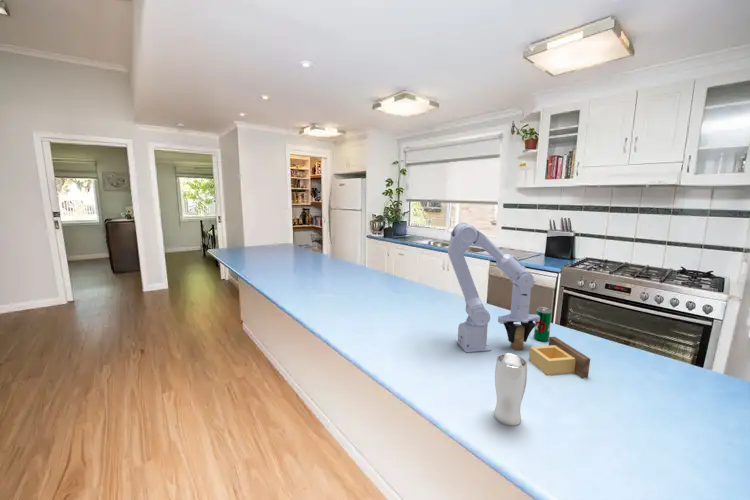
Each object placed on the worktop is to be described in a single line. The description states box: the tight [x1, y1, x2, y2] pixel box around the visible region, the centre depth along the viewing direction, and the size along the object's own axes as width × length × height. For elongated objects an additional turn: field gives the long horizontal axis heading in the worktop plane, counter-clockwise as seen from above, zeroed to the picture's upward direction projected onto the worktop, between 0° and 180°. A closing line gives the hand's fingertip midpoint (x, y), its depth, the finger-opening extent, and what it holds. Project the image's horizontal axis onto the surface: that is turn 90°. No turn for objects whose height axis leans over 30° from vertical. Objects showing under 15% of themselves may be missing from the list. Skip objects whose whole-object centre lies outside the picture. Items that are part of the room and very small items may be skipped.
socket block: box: [528, 345, 576, 376], centre depth 101 cm, size 9×9×4 cm
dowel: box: [510, 323, 525, 351], centre depth 113 cm, size 4×4×8 cm
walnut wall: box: [548, 336, 591, 379], centre depth 102 cm, size 2×15×6 cm, turn 8°
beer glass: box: [493, 353, 528, 427], centre depth 77 cm, size 7×7×15 cm
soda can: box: [533, 306, 553, 342], centre depth 120 cm, size 5×5×12 cm
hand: (517, 341), depth 114 cm, fingers open, 4 cm apart
